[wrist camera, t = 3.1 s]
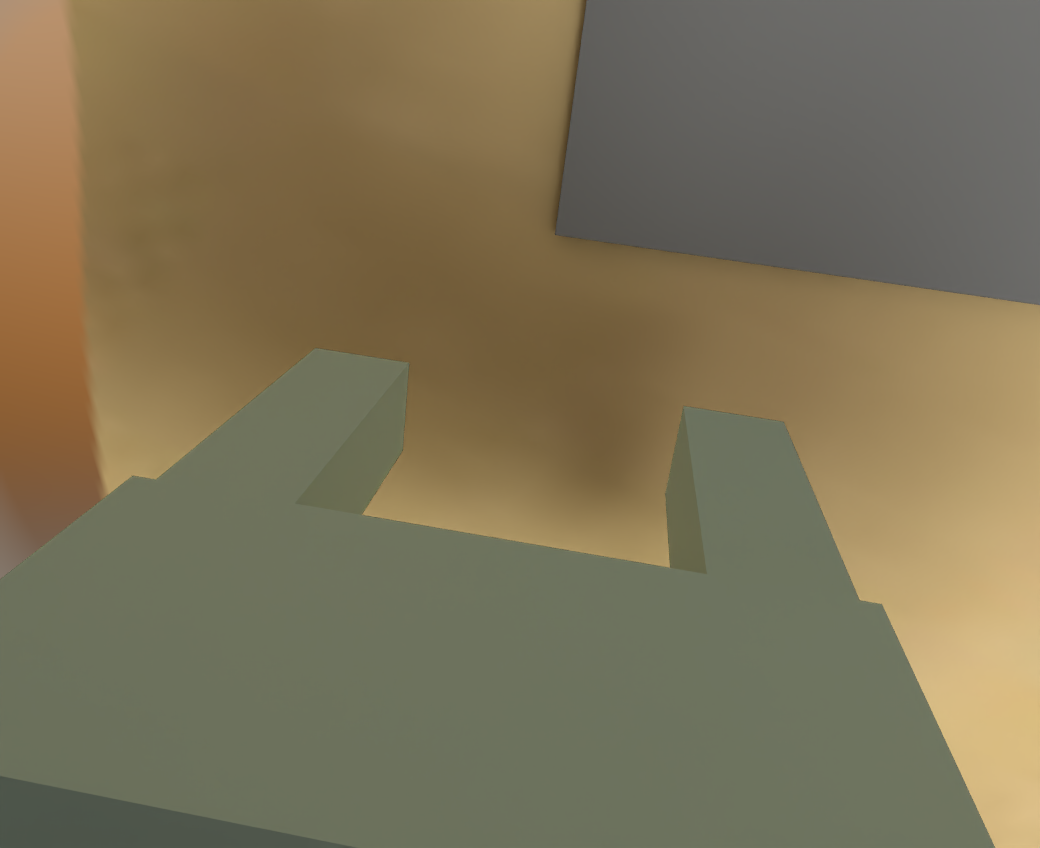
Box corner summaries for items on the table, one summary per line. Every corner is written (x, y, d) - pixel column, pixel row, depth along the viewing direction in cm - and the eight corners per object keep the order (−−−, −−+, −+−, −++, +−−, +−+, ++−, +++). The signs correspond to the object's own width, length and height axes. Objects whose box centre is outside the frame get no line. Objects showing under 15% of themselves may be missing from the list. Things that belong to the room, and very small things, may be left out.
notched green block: (694, 792, 12) (754, 1550, 6) (298, 717, 13) (-39, 1347, 6) (794, 415, 10) (1061, 987, 4) (307, 339, 11) (-201, 736, 4)
